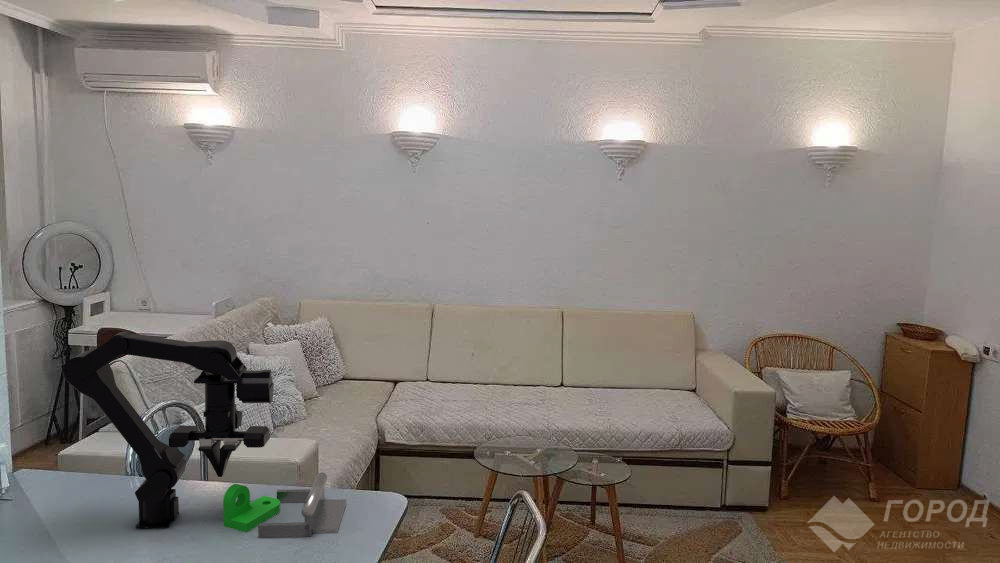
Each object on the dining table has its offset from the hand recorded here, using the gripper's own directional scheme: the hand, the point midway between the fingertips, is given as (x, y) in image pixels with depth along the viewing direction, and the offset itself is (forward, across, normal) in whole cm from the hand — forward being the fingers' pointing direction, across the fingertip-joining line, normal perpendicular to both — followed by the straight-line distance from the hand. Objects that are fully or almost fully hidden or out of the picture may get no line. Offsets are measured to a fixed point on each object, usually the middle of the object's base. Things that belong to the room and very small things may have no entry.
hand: (220, 476), depth 145 cm
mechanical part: (+10, -7, 0) cm, 12 cm away
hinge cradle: (+9, -17, 0) cm, 20 cm away
